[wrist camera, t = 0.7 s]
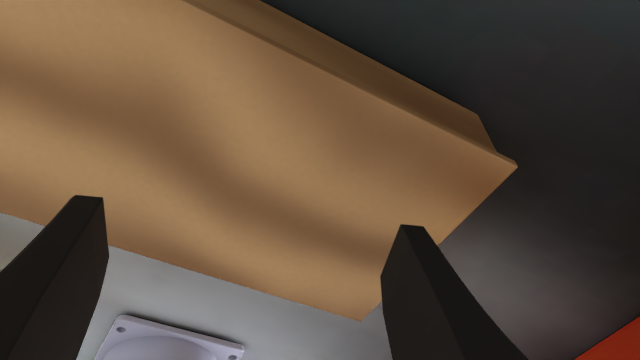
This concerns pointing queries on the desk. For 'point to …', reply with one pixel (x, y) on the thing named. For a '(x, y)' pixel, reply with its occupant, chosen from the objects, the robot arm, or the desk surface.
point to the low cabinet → (232, 142)
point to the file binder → (617, 345)
